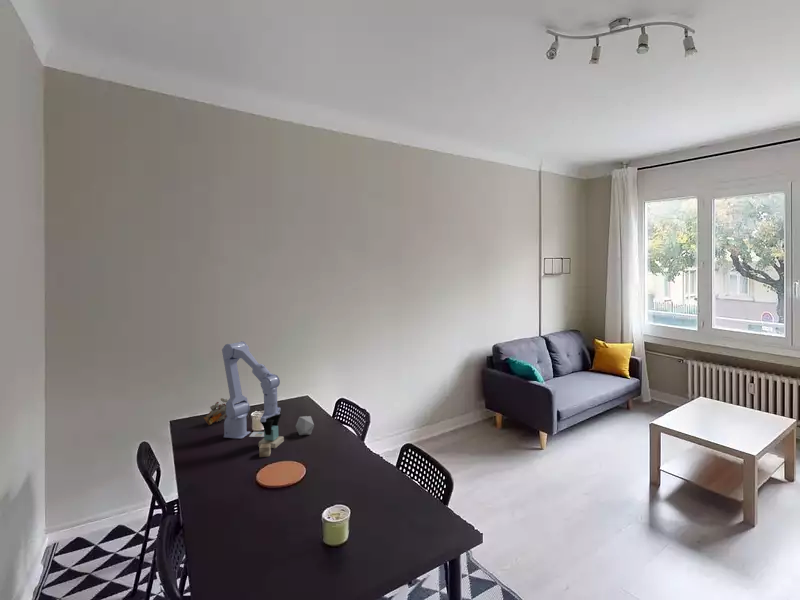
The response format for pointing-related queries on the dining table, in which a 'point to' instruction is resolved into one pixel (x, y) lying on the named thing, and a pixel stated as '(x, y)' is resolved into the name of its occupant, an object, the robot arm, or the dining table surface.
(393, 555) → the dining table surface
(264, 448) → the block
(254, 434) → the blueprint card
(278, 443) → the birch slab
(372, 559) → the dining table surface
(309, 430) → the die
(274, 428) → the teal cube
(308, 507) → the dining table surface
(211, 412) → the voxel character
